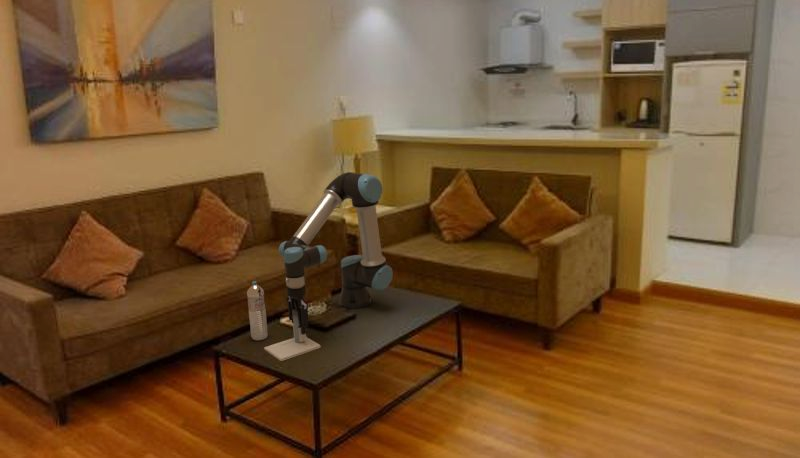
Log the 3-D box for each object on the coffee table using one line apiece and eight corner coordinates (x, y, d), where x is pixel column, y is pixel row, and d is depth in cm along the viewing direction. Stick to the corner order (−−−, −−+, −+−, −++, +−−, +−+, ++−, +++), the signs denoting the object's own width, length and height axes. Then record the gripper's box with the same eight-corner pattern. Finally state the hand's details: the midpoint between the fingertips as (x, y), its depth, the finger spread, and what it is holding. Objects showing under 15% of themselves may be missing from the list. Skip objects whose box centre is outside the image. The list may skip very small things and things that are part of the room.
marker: (301, 337, 261) (299, 306, 257) (307, 340, 258) (304, 309, 254) (292, 340, 258) (290, 309, 255) (298, 344, 255) (295, 312, 251)
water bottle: (251, 342, 261) (246, 285, 254) (251, 335, 267) (245, 280, 261) (268, 339, 262) (263, 283, 256) (267, 333, 269) (262, 278, 263)
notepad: (302, 337, 264) (302, 334, 264) (320, 347, 254) (320, 345, 253) (264, 349, 253) (264, 347, 253) (281, 361, 243) (280, 358, 242)
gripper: (277, 282, 256) (281, 335, 262) (298, 293, 243) (302, 348, 249) (293, 278, 261) (297, 330, 267) (314, 288, 248) (318, 342, 254)
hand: (300, 339), depth 258 cm, fingers closed on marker, 4 cm apart
